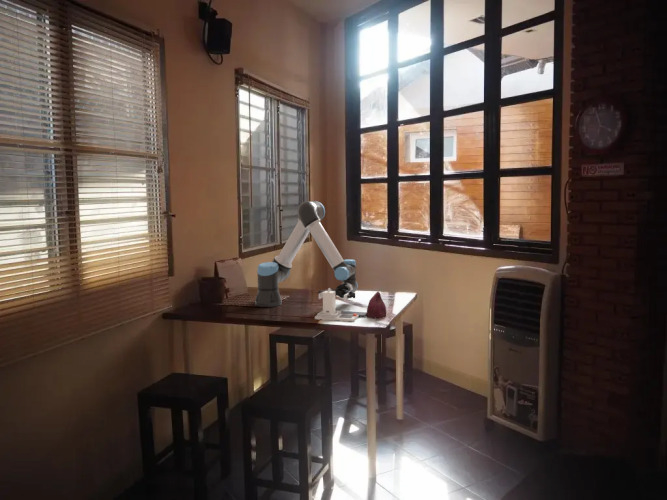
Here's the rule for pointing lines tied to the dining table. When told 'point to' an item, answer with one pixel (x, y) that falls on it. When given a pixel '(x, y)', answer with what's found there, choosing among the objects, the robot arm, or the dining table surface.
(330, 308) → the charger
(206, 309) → the dining table surface
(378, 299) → the vegetable
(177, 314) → the dining table surface
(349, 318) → the white base tray
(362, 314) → the phone
